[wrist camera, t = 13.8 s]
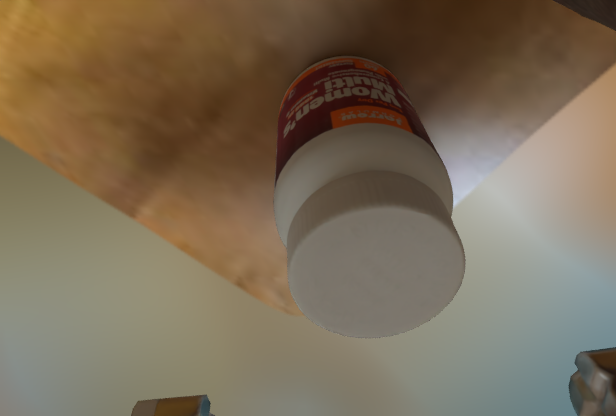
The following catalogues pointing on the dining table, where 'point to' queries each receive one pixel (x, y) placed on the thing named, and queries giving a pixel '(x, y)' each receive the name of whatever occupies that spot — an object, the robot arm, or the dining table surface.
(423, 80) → the dining table surface
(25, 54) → the dining table surface
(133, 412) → the robot arm
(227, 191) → the dining table surface
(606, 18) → the candle
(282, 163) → the pill bottle
